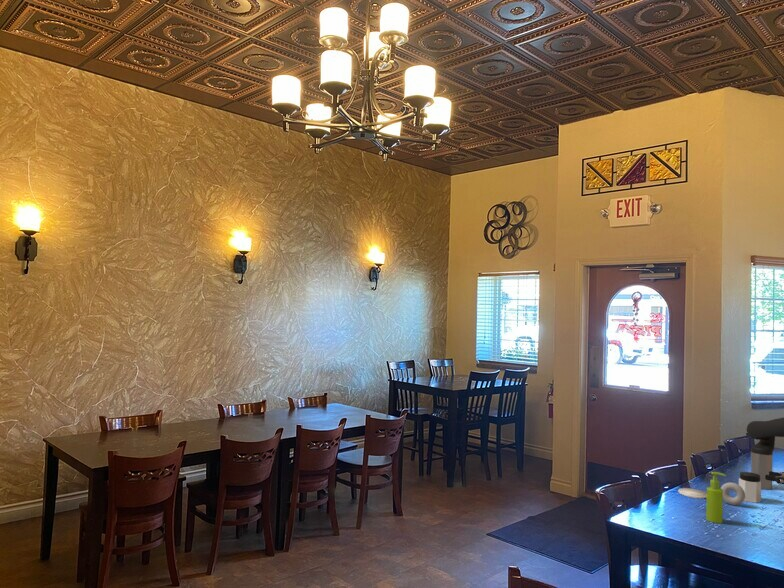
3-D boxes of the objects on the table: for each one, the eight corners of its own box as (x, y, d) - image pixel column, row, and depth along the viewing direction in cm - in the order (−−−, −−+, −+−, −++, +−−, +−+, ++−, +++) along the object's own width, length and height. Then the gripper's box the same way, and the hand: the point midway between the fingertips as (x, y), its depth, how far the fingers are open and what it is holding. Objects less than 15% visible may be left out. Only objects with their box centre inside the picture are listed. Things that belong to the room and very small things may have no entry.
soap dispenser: (725, 525, 233) (725, 475, 233) (705, 521, 236) (706, 472, 237) (725, 520, 238) (726, 472, 238) (706, 517, 241) (707, 469, 242)
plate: (682, 488, 282) (682, 485, 282) (711, 494, 273) (712, 492, 273) (674, 493, 272) (674, 491, 272) (704, 500, 264) (704, 498, 264)
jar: (754, 504, 261) (754, 477, 262) (735, 498, 268) (736, 473, 268) (763, 501, 266) (764, 475, 267) (745, 496, 273) (745, 470, 273)
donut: (745, 506, 257) (746, 484, 257) (744, 508, 254) (744, 485, 255) (720, 501, 264) (721, 479, 264) (719, 502, 261) (719, 481, 261)
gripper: (814, 471, 245) (770, 464, 256) (810, 477, 235) (764, 469, 245) (814, 489, 245) (770, 481, 256) (810, 495, 234) (764, 487, 245)
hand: (767, 475), depth 250 cm, fingers open, 8 cm apart
